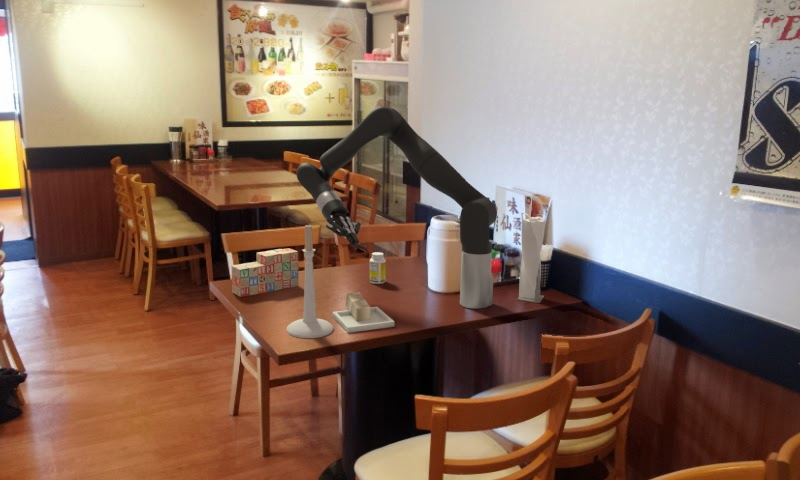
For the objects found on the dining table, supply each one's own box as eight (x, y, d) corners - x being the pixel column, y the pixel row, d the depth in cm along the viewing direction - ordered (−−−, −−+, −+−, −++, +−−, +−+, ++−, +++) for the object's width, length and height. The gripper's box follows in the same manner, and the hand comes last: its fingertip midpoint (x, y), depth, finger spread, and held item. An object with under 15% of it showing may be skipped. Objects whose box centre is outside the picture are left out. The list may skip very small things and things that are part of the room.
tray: (377, 311, 204) (377, 306, 204) (394, 326, 191) (394, 321, 191) (332, 316, 199) (332, 311, 198) (347, 332, 186) (347, 327, 186)
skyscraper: (513, 299, 217) (517, 214, 211) (518, 292, 225) (523, 209, 218) (539, 303, 214) (545, 216, 208) (544, 296, 222) (549, 212, 215)
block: (359, 292, 202) (370, 307, 194) (358, 303, 204) (369, 319, 195) (346, 293, 201) (357, 309, 192) (345, 305, 202) (356, 321, 194)
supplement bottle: (384, 279, 237) (384, 251, 235) (386, 284, 232) (387, 255, 230) (368, 280, 236) (368, 251, 234) (370, 284, 231) (370, 255, 229)
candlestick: (335, 336, 183) (335, 228, 176) (287, 339, 181) (285, 229, 174) (330, 320, 195) (329, 218, 189) (285, 323, 193) (283, 220, 186)
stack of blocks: (240, 297, 215) (239, 260, 213) (231, 292, 220) (230, 256, 217) (299, 286, 228) (298, 250, 226) (289, 281, 233) (288, 247, 230)
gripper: (320, 196, 209) (344, 233, 199) (353, 200, 218) (378, 236, 208) (309, 214, 213) (333, 252, 203) (343, 218, 222) (366, 254, 212)
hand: (355, 244), depth 205 cm, fingers closed
